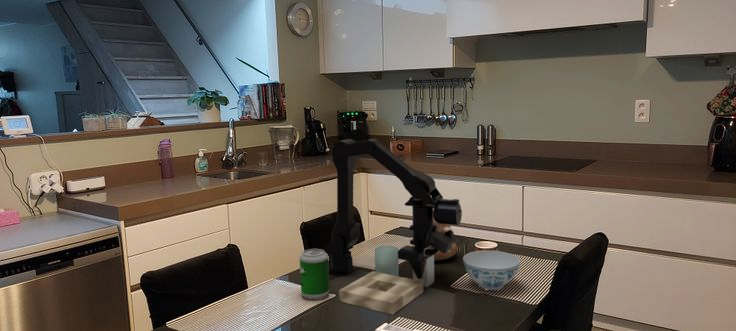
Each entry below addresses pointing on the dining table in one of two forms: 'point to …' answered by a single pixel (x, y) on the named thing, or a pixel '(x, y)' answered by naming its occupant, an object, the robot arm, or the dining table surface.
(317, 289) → the soda can
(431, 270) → the square peg
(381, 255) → the round peg
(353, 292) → the socket plate
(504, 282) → the chinaware
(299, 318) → the dining table surface
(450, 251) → the ceramic jug
